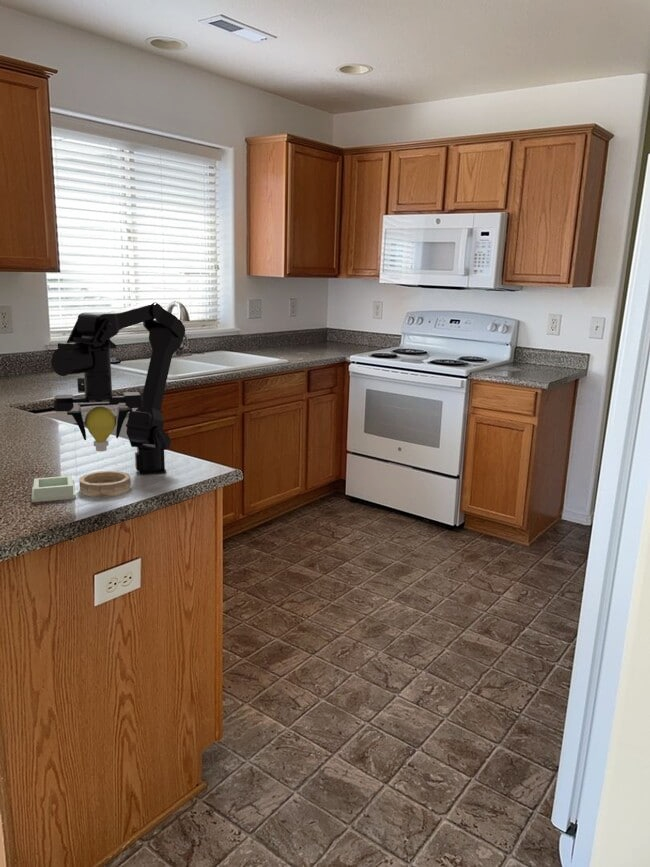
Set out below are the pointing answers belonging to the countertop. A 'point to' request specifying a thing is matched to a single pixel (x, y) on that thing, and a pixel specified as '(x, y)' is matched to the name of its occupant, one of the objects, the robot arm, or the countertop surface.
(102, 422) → the light bulb
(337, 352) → the countertop surface
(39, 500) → the square socket
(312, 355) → the countertop surface
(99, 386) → the robot arm
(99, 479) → the round cradle
